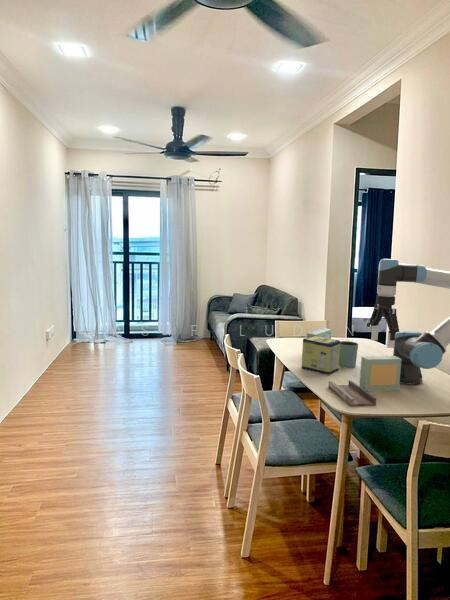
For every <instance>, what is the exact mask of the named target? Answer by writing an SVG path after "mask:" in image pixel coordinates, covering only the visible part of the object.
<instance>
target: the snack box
mask: <svg viewBox="0 0 450 600" xmlns="http://www.w3.org/2000/svg"><path fill="white" fill-rule="evenodd" d="M332 332H333V331H332V329H331V328H326V327H322V328H319V329H317V330H316V329H315V330H313V331H309V332H307V333H306V338H308V337H311V336H316V337H322V338H328V339H332Z"/></svg>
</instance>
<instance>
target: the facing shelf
mask: <svg viewBox="0 0 450 600" xmlns="http://www.w3.org/2000/svg"><path fill="white" fill-rule="evenodd" d="M328 388H329V389H330V390H331V392H333V393H334V392H335V394H336V395H337V396H338V397H339V399H341V400H342V401H344V402H345V403H346V404H347V405H348V406H350V407H370V406H371V407H374V406H375V407H376V405H377V398H376V397H375V396H374V395H373V394H371V393H370V392H369V391H365V390H364V389H363V388H361V387H360V386H359V384H357V383H355V382H354V381H353V380H348V384H336V383H335V382H334V381H332V380H329V381H328Z"/></svg>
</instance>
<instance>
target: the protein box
mask: <svg viewBox="0 0 450 600" xmlns="http://www.w3.org/2000/svg"><path fill="white" fill-rule="evenodd" d="M340 342H341V340H339V339H332V338H331V339H328V338H322V337H316V336H311V337H308V338H307V337H305V338H302V354H301V355H302V357H301V370H305V369H306V371H309V370H310V371H311V372H313V371H314V373H317V372H318V374H323V375H326V376H331V375H332V374H334V373H337V372H338V371H339V369H340V366H339V350H340ZM310 371H309V372H310Z"/></svg>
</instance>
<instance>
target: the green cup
mask: <svg viewBox="0 0 450 600" xmlns="http://www.w3.org/2000/svg"><path fill="white" fill-rule="evenodd" d="M358 347H359V343H358V342H355V341H349V340H345V341H343V340H342V341H341V340H340V350H339V367H341V368H344V369H353V368H356V366H357V365H356V364H357V357H358V350H359V349H358Z"/></svg>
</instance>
